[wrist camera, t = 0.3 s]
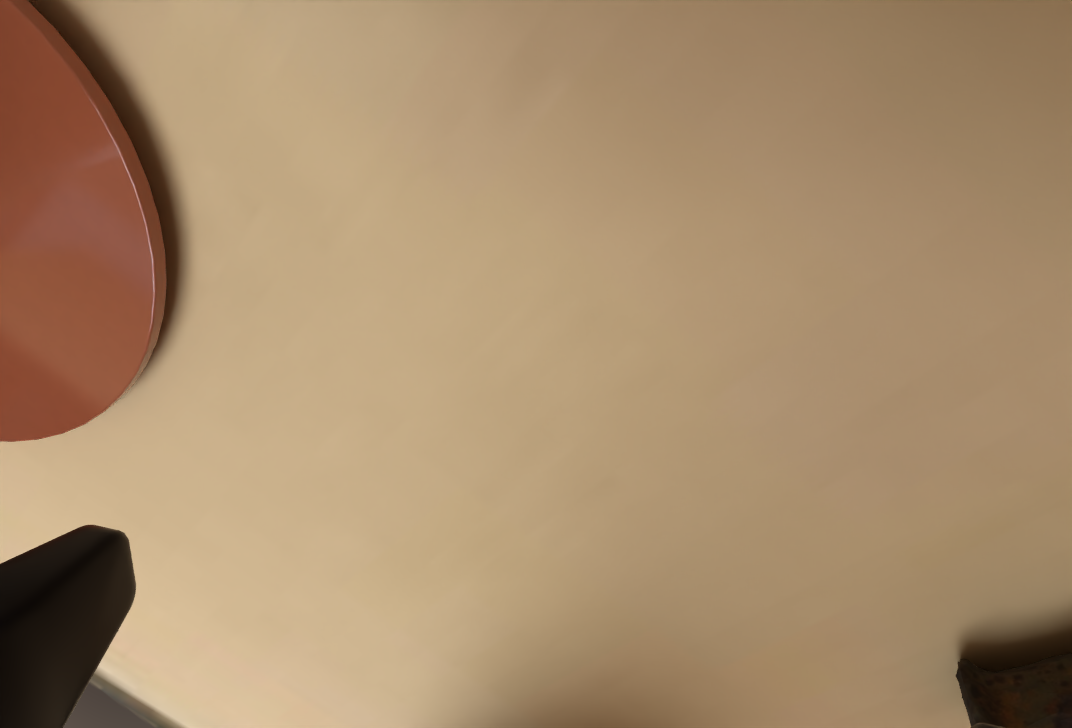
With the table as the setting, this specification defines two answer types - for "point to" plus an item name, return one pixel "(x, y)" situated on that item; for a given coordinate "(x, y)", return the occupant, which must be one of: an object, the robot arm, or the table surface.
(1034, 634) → the table surface
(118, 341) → the plate
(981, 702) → the hand tool
